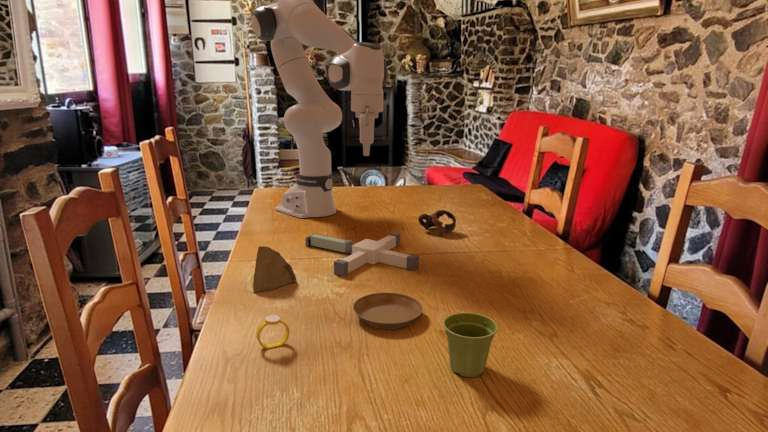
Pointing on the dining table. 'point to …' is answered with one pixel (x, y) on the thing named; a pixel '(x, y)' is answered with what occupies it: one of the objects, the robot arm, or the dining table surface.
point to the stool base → (376, 255)
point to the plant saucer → (387, 310)
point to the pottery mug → (437, 221)
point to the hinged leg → (332, 243)
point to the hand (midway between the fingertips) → (366, 155)
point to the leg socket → (309, 240)
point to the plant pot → (469, 342)
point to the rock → (271, 270)
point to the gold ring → (272, 321)
